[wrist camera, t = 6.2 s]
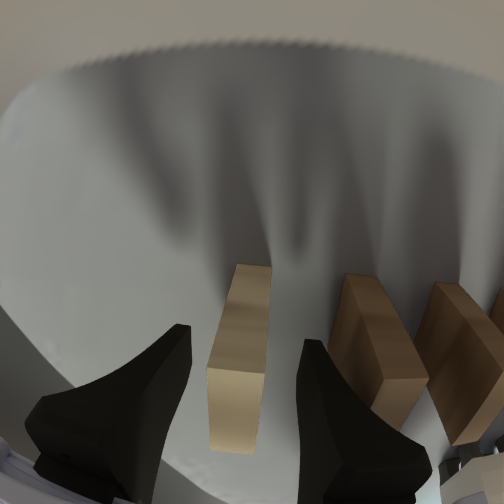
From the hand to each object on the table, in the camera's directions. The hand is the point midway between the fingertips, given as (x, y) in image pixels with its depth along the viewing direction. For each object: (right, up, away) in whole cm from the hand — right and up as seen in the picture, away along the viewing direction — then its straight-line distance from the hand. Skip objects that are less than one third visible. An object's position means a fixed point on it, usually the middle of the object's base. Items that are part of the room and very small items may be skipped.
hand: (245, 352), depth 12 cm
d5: (+5, +1, +3) cm, 6 cm away
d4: (+10, 0, +3) cm, 11 cm away
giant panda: (+24, -16, +8) cm, 30 cm away
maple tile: (0, +1, +3) cm, 4 cm away
